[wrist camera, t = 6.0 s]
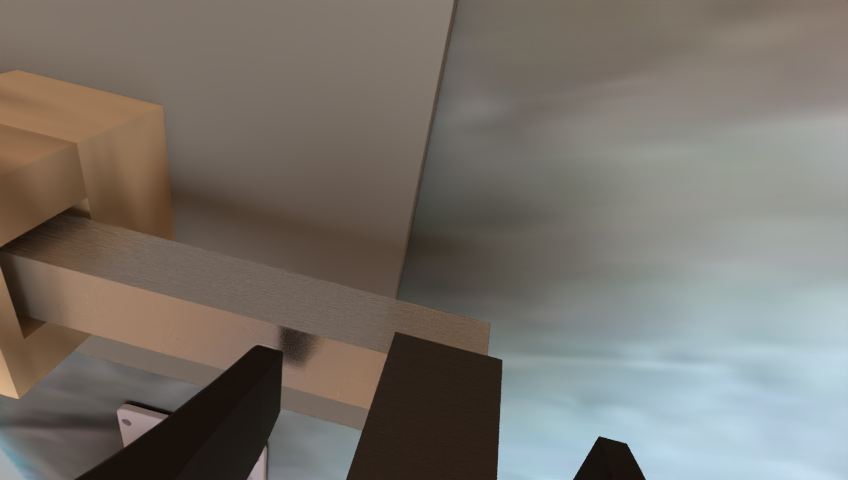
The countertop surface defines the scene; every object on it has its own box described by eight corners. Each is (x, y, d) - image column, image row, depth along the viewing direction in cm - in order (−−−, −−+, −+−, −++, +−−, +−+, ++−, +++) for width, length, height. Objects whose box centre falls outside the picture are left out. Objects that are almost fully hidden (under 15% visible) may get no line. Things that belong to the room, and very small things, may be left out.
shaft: (476, 390, 14) (452, 622, 9) (-16, 258, 15) (-277, 409, 10) (504, 311, 13) (494, 539, 8) (-47, 168, 13) (-376, 294, 8)
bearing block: (177, 258, 19) (19, 399, 13) (55, 226, 19) (-155, 350, 13) (163, 105, 16) (-55, 199, 10) (17, 69, 16) (-281, 139, 10)
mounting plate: (373, 414, 23) (367, 431, 22) (14, 316, 24) (-4, 329, 23) (476, -95, 13) (473, -99, 12) (-167, -236, 13) (-214, -249, 13)
